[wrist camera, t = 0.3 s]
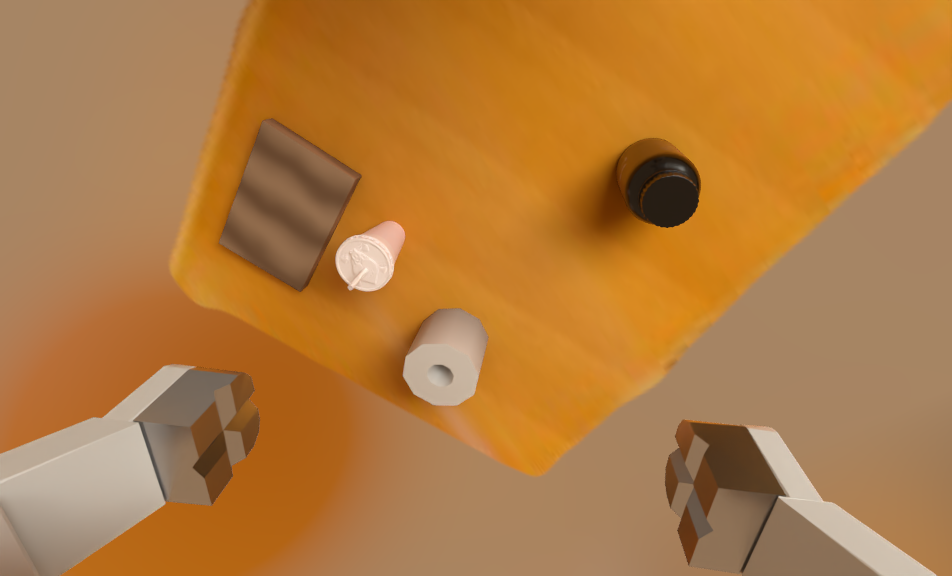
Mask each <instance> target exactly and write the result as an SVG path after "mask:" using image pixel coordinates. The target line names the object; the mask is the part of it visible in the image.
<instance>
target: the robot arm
mask: <svg viewBox="0 0 952 576" xmlns="http://www.w3.org/2000/svg"><path fill="white" fill-rule="evenodd" d="M254 391H255V390H254V386H253V382H252V378H251V376H249V375H248V374H246V373H243V372H235V371H227V370H219V369H212V368H204V367H193V366H186V365H178V364H171V365H167V366H164V367H163V368H161V369H160V370H159V371H158V372H157V373H155V374H154V375H153V376H152V377H151V378H149V379H148V380H147V381H146V382H145V383H143V385H141V386H140V387H139V388H137V390H135V391H134V392H133V393H132V394H130V395H129V396H128V397H127V398H126V399H124V400H123V401H122V402H121V403H120V404H118V405H117V406H116V407H115V408H114V409H112V410H111V411H110V412H109V413H108V414H106V415H105V416H104V417H103V418H95V417H94V418H91V419H89V420H86V421H83V422H81V423H78V424H76V425H73V426H71V427H68V428H65V429H63V430H61V431H58V432H55V433H53V434H50V435H48V436H45V437H43V438H40V439H37V440H35V441H33V442H30V443H27V444H25V445H22V446H20V447H17V448H14V449H12V450H9V451H7V452H4V453H2V454H0V576H60V575H61V574H63V573H64V572H66V571H67V570H69V569H70V568H72V567H73V566H75V565H76V564H78V563H79V562H81V561H82V560H84V559H85V558H86V557H88V556H89V555H91V554H92V553H94V552H95V551H97V550H98V549H100V548H101V547H103V546H104V545H106V544H107V543H109V542H110V541H111V540H113V539H115V538H116V537H117V536H119V535H120V534H122V533H123V532H125V531H126V530H128V529H129V528H131V527H132V526H134V525H135V524H136V523H138V522H140V521H141V520H142V519H144V518H145V517H147V516H148V515H150V514H151V513H153V512H154V511H156V510H157V509H159V508H160V507H162V506H163V505H165V501H168V502H178V503H189V504H199V505H210V506H211V505H212V504H213V503H214V502H215V500H216V498H218V496H219V495H220V493H221V492H222V491H223V489H224V488H225V486H226V485H227V484H228V482H229V481H230V479H231V478H232V477H233V474H232V465H234V464H236V463H238V462H239V461H241V460H243V459H245V458H246V457H247V455H248V454H249V452H250V451H251V449H252V448H253V446H254V444H255V441H256V438H257V436H258V433H259V424H260V417H259V412H258V408H257V407H256V406H255V405H254V404H253V403H252V402H251V401H250V400H249V398H250V396H251V395H252V394H253V392H254ZM675 438H676V440H677V443H678V446H679V448H678V449H677V450H675V451H674V452H672V453H671V454H670V455H669V458H668V462H667V466H666V473H665V486H666V493H667V498H668V501H669V504H670V508H671V509H672V510H673V511H674V512H675V513H676V514H677V515H678V516H679V517H680V518H681V521H680V524H679V527H678V530H677V531H678V534H679V537H680V540H681V543H682V546H683V549H684V553H685V556H686V559H687V562H688V565H689V566H691V567H698V568H704V569H710V570H718V571H724V572H730V573H737V574H742V576H937V575H936V574H934V573H933V572H931V571H930V570H928V569H927V568H925V567H924V566H923V565H921V564H920V563H918V562H917V561H915V560H914V559H913V558H911V557H910V556H908V555H907V554H906V553H904V552H903V551H901V550H900V549H899V548H897V547H896V546H894V545H893V544H891V543H890V542H889V541H887V540H886V539H884V538H883V537H881V536H880V535H879V534H877V533H876V532H874V531H873V530H871V529H870V528H869V527H867V526H866V525H864V524H863V523H861V522H860V521H859V520H857V519H855V518H854V517H853V516H851V515H850V514H848V513H847V512H846V511H844V510H843V509H841V508H840V507H839V506H837V505H836V504H834V503H831V502H823V500H822V499H821V497H820V496H819V494H818V493H817V491H816V490H815V488H814V487H813V485H812V484H811V482H810V481H809V480H808V478H807V476H806V475H805V473H804V472H803V470H802V469H801V467H800V466H799V464H798V463H797V461H796V460H795V458H794V457H793V455H792V454H791V452H790V451H789V449H788V448H787V446H786V445H785V443H784V442H783V440H782V439H781V437H780V436H779V434H778V433H777V432H776V431H775V430H774V429H772V428H771V427H764V426H751V425H731V424H722V423H712V422H702V421H692V420H682V421H681V423H680V424H679V426H678V429H677V432H676V435H675Z"/></svg>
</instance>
